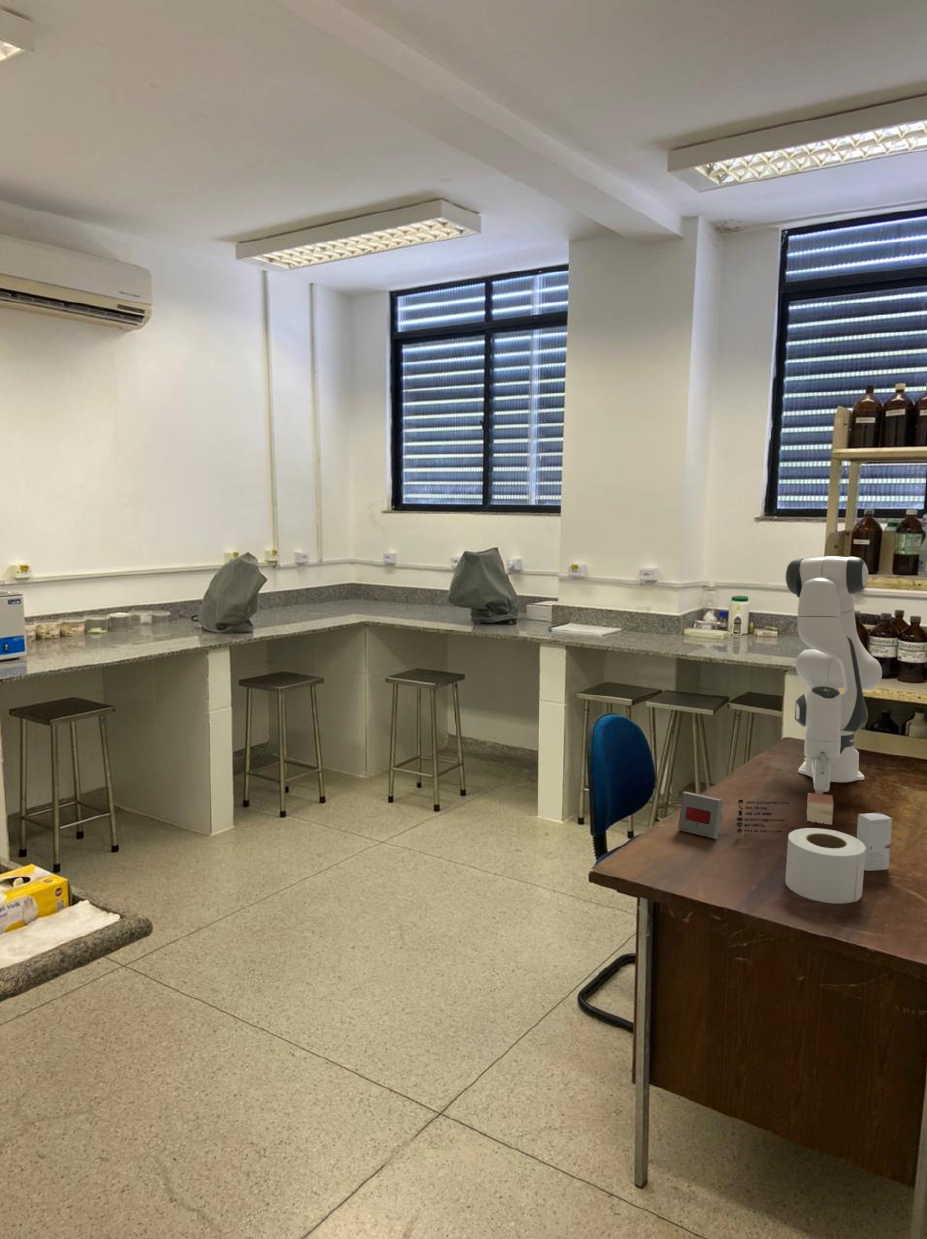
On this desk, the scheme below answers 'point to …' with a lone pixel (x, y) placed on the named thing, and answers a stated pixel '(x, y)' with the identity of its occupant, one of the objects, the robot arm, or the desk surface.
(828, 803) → the birch cube
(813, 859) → the roll of tape
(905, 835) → the desk surface
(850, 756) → the robot arm
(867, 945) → the desk surface
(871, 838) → the skincare box
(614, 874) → the desk surface
